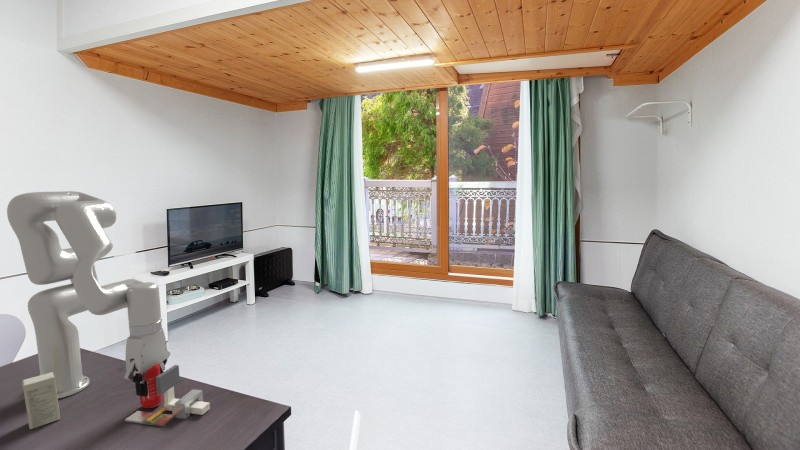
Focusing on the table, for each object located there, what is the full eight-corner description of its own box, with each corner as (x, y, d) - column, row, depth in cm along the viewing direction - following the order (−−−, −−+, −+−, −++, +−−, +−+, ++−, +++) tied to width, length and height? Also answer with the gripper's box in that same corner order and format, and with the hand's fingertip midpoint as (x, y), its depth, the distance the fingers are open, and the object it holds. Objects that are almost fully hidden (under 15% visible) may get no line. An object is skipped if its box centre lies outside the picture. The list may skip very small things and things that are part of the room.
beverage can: (152, 410, 108) (148, 368, 107) (136, 408, 109) (132, 367, 108) (166, 399, 113) (163, 360, 112) (151, 397, 114) (148, 358, 113)
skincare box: (59, 412, 108) (54, 370, 107) (60, 419, 105) (56, 376, 104) (27, 423, 104) (22, 379, 102) (27, 430, 100) (22, 385, 99)
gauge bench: (124, 421, 104) (123, 406, 104) (157, 398, 115) (156, 385, 115) (174, 428, 102) (173, 412, 101) (203, 404, 112) (202, 390, 112)
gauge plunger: (146, 423, 103) (143, 384, 102) (177, 400, 114) (174, 365, 113) (187, 428, 101) (184, 389, 100) (214, 404, 112) (212, 368, 110)
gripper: (158, 316, 118) (162, 373, 120) (106, 339, 101) (112, 405, 103) (180, 318, 116) (184, 376, 119) (131, 341, 100) (136, 408, 102)
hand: (150, 389), depth 111 cm, fingers closed on beverage can, 5 cm apart
